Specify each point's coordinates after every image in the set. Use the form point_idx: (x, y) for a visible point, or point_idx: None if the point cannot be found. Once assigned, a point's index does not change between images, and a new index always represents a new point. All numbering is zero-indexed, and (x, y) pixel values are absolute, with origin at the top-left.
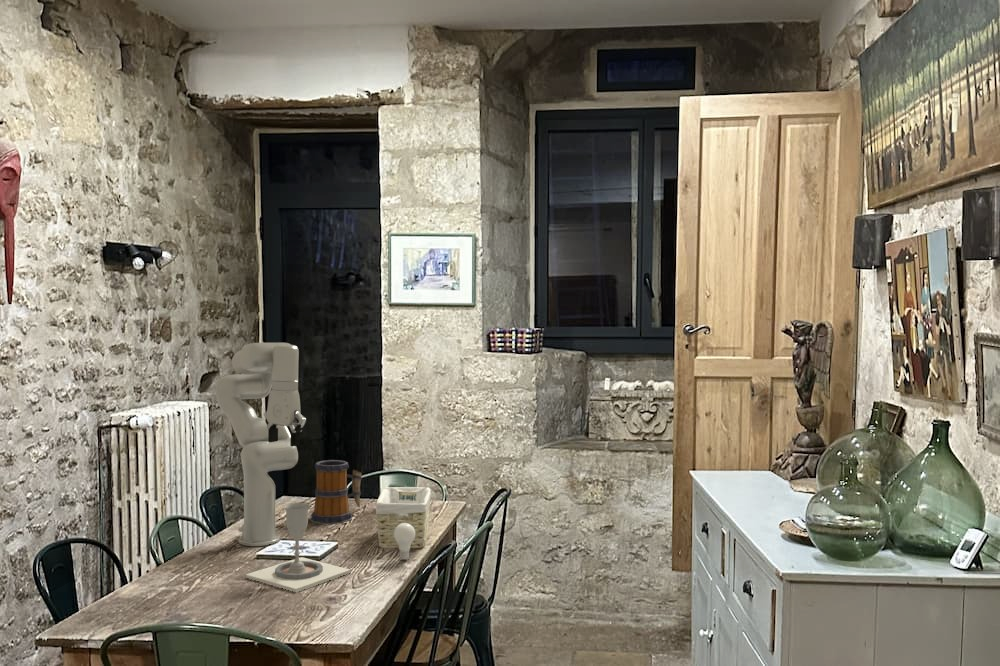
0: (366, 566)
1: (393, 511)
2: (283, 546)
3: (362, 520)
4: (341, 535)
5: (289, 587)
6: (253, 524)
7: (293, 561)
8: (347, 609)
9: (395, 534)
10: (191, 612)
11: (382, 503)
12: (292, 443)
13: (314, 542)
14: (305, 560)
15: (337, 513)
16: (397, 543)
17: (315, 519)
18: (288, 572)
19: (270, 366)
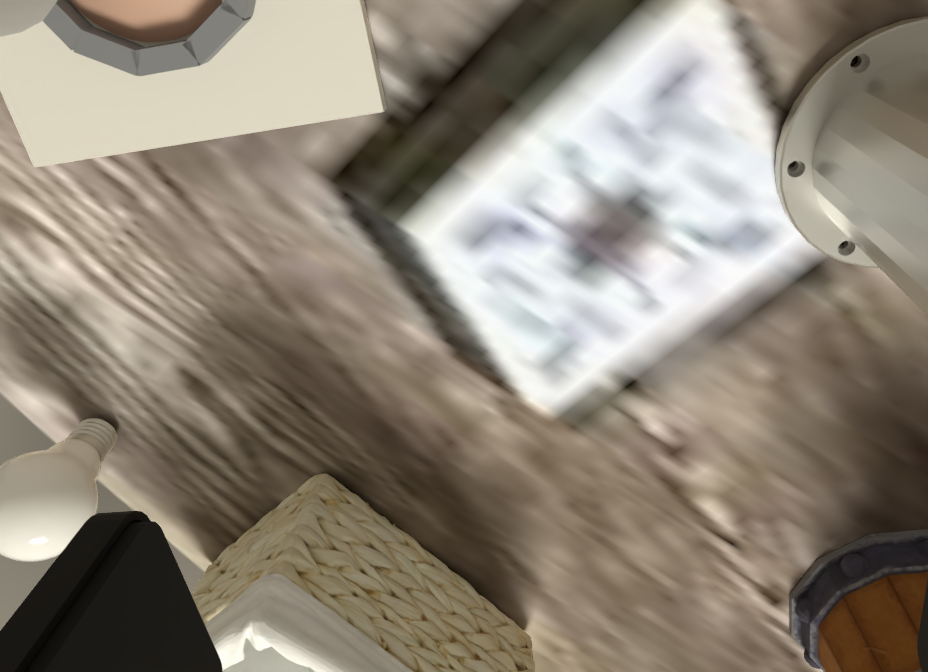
0: (108, 275)
1: (207, 625)
2: (694, 188)
3: (747, 661)
4: (622, 483)
5: None
6: (921, 96)
7: (338, 28)
8: None
9: (25, 467)
10: None
11: (233, 636)
12: (68, 570)
13: (624, 339)
14: (313, 90)
15: (830, 623)
16: (66, 452)
17: (921, 545)
18: None
19: None
